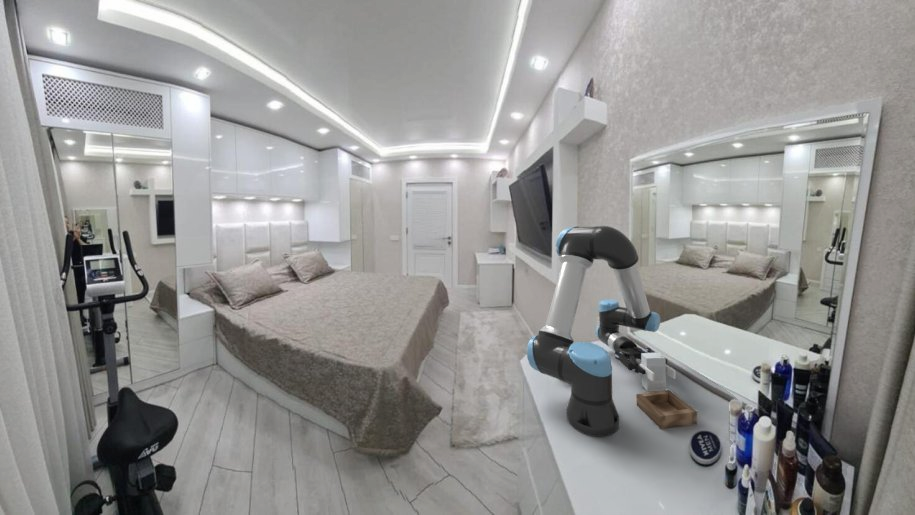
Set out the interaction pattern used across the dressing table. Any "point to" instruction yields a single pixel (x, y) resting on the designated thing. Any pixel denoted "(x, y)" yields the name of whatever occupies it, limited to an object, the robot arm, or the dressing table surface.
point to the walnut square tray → (666, 409)
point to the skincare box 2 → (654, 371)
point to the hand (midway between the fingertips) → (663, 376)
